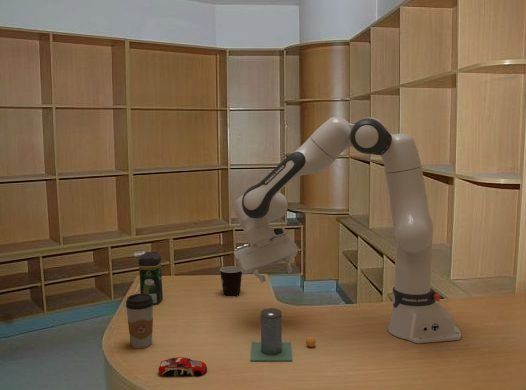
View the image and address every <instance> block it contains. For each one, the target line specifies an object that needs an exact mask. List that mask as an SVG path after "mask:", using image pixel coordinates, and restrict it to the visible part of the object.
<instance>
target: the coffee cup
mask: <svg viewBox="0 0 526 390" xmlns="http://www.w3.org/2000/svg"><path fill="white" fill-rule="evenodd" d="M154 305H155V304H154V303H153V299H152V296H151V295H149V294H140V293H134V294H132V295H129V296H128V297H127V299H126V300H125V308H126V314H127V316H126V317H127V326H128V335H129V340H130V345H131V347H133V348H135V349H143V348H144V349H145V348H147V347H150V346H151V345H152V342H153V331H154V329H153V327H154V326H153V325H154V317H153V315H154Z"/></svg>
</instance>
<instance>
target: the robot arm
mask: <svg viewBox="0 0 526 390" xmlns="http://www.w3.org/2000/svg"><path fill="white" fill-rule="evenodd" d="M349 148H354V149H355V150H356V151H357V152H359V153H361V154H365V155H374V156H380V158H381V159H382V162H383V167H384V172H385V177H386V178H385V179H386V184H387V189H388V194H389V195H388V196H389V201H390V209H391V210H390V211H391V220H392V225H393V226H392V227H393V233H394V238H395V241H396V246H395V247H396V248H395V258H394V259H395V261H394V284H393V285H394V286H393V288H392V294H391V295H392V296H391V299H392V300H391V303H392V312H391V317H390V321H389V323H388V326H387V331H388V332H389V333H390V334H391V335H392V336H394V337H396V338H397V337H398V338H399V339H403V340H404V339H405V340H408V341H410V342H412V343H414V344H427V343H438V342H449V341H459V340H461V338H462V332H461V330H460V328H459V327H458V326H456V325H455V322H454V318H453V316H452V314H451V312H449V310H447V308H446V307H444V306H443V305H442V304H440V303H439V302H440V301H441V300H442V297H441V295H440V294H439V293H437V292H436V291H435V290H433V289H432V288H431V280H432V279H431V275H432V257H433V256H432V255H433V254H432V253H433V231H434V229H433V228H434V224H433V220H432V218H431V216H430V212H429V205H428V198H427V197H428V196H427V190H426V184H425V180H424V179H425V178H424V173H423V167H422V162H421V158H420V154H419V150H418V147H417V145H416V143H415V140H414V138H413V137H412V136H411V135H409V134H407V133H390V132H389V130H388V129H387V126H386V125H385V124H384V123H383V121H381V120H380V119H378V118H375V117H370V116H369V117H364V118H361V119H359V120H358V121H356V122H354V123H350V122H349V121H348V120H347V119H345V118H343V117H340V116H332V117H330V118H329V119H327V120H326V121H325V122H324V123H322V125H320V126H318V127H317V129H315V130H314V132H313V133H311V135H310V136H309V137H308V138H307V139H306V141H305V142H304V143H303V144H301V145H300V147H298V148H297V149H296V150H294V151H293V152H292V153H290V154H289V155H288V156H287V157H286V158H284V159H283V160H281V162H280V163H278V165H277V166H275V168H274V169H272V170H271V172H269V173H268V174H267V175H266V176H265V177H264V178H263V179H262V180H260V182H257V184H254V185H252V186H251V187H248V189H246V190H245V191H244V193H243V194H242V195H240V196H239V197H238V198H237V199H236V200H235V202H234V212H235V216H236V218H237V221H238V224H239V226H240V227H241V229H242V230H243V232H244V233H243V234H244V238H245V240H246V242H247V243H245V244H242V245H241V246H237V247H235V249H234V251H233V255H234V258H235V260H236V261H237V263H238V267H240V270H241V272H242V275H246V274H247V275H248V274H250V273H253V275H254V276H255V277H256V278H258V279H259V281H260V283H261V284H263V283H265V282H266V281H267V279H266V278H265V277H266V276H265V275H264V274H263V275H261V274H260V273H259V270H261V269H265V268H267V267H269V266H273V265H276V264H278V263H280V262H283V261H284V262H285V264H286V263H287V266H286V267H285V268H284V269H285V271H286V273H287V274H289V273H291V272H292V271H293V268H292V266H291V262H292V258H295V257H297V256H298V255H297V254H298V253H299V249H298V247H297V244H296V242H295V240H294V239H293V238H292V237H291V236H290V235H289V234H287V229H286V228H285V227H270V223H272V222H275V221H276V222H277V221H279V220H280V219H282V218H283V217H285V215H286V214H287V212H288V209H289V203H288V198H287V197H286V196H285V195H284V194H283V193H281V192H280V191H281V190H283V189H284V188H285V187H286V185H288V184H289V183H290V182H291V181H293V180H294V179H296V178H298V177H301V176H305V175H312V174H313V175H314V174H319V173H322V172H323V171H326V169H327V168H329V167H331V165H332V164H333V163H334V162H335V161H336V160H337V159H338V158H339V156H340V155H341V154H343V153H344V152H345V150H347V149H349Z"/></svg>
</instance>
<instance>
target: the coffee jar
mask: <svg viewBox="0 0 526 390" xmlns="http://www.w3.org/2000/svg"><path fill="white" fill-rule="evenodd" d="M161 258H162V256H161V254H160V253H159V252H158V251H146V252H144V253H143V254H142V255H140V256H139V258H138V270H139V271H138V273H139V291H140V292H139V294H149V295H151V296H152V299H153V303H154V304H153V305H157V304H160V302H161V301H162V300H163V298H164V295H163V292H164V291H163V278H162V276H163V275H162V259H161Z"/></svg>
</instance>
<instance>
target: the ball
mask: <svg viewBox="0 0 526 390" xmlns="http://www.w3.org/2000/svg"><path fill="white" fill-rule="evenodd" d="M316 342H317V340H316V338H314V337H313V336H308V337H307V338H306V339H305V345H306V346H307V347H308V348H309V347H310V348H313V347H314V346H316Z"/></svg>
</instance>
